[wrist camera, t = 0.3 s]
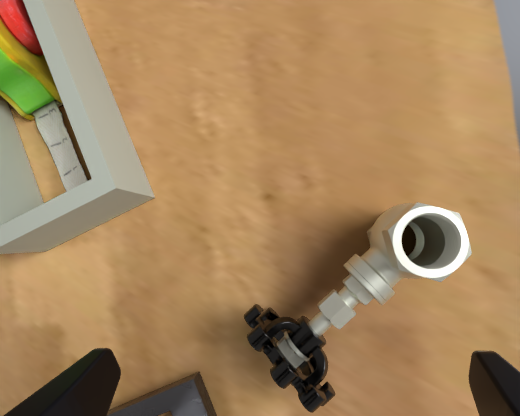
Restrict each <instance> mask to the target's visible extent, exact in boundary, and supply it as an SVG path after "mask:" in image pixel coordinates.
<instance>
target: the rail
mask: <svg viewBox="0 0 520 416" xmlns="http://www.w3.org/2000/svg"><path fill="white" fill-rule="evenodd" d="M168 411H171V413H172V416H217V415H216V412H215V410H214V407H213V405H212V402H211V400H210V397H209V395H208V392H207V390H206V387H205V385H204V382H203V380H202V377H201V375H200V372H197V373H195V374H193V375H190V376H188V377H186V378H183V379H181V380H179V381H176V382H174V383H172V384H169V385H167V386H165V387H162V388H160V389H158V390H155V391H153V392H150V393H148V394H146V395H143V396H141V397H139V398H136V399H134V400H132V401H129V402H127V403H125V404H122V405H120V406H118V407H115V408H113V409H111V410H109V411H108V414H107V416H158V415H160V414H163V413H165V412H168Z"/></svg>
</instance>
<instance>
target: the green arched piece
mask: <svg viewBox="0 0 520 416" xmlns="http://www.w3.org/2000/svg"><path fill="white" fill-rule="evenodd" d="M0 95H1V96H2V97H3V98H4V99H5V100H6V101H7V102H8V103H9V104H10V105H11V106H12V107H13V108H14V109H15V110H16V111H17V112H18V113H19V114H20V115H21V116H22V117H24V118H25V119H28V120H34V119H35V120H36V124H37V127H38V129H39V132H40V133H41V135H42V138H43V139H44V141H45V143H46V145H47V146H48V148H49V150H50V153H51V154H52V157H53V160H54V163H55V165H56V166H57V169H58V171H59V174H60V177H61V180H62V183H63V185H64V187H65V189H66V191H69V190H71V189H73V188H75V187H77V186H79V185H81V184H83V183H85V182H87V181H88V180H87V177H86V176H85V173H84V170H83V168H82V165H81V164H80V162H79V159H78V157H77V154H76V152H75V149H74V147H73V144H72V141H71V138H70V136H69V134H68V132H67V129H66V127H65V125H64V123H63V118H62V113H61V112H60V110H59V108H58V107H59V106H61V105H63V103H62V100H61V97H60V95H59V92H58V90H57V87H56V85H55V82H54V79H53V77H52V74H51V72H50V69H49V66H48V64H47V61H46V59H45V56H44V53H43V51H42V48H41V46H40V43H39V40H38V38H37V35H36V33H35V30H34V27H33V25H32V22H31V20H30V17H29V14H28V12H27V9H26V7H25V4H24V2H23V0H0Z"/></svg>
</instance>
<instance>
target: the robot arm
mask: <svg viewBox="0 0 520 416" xmlns="http://www.w3.org/2000/svg"><path fill="white" fill-rule="evenodd" d="M120 375H121V370H120V367H119V365H118V362H117V360H116V358H115V356H114V354H113V352H112V350H110V349H109V348H97V349H94V350H92V351H91V352H89V353H88V354H87V355H85V356H84V357H83V358H81V359H80V360H79V361H77V362H76V363H74V364H73V365H72V366H70V367H69V368H68V369H66V370H65V371H64V372H62V373H61V374H59V375H58V376H57V377H55V378H54V379H53V380H51V381H50V382H49V383H47V384H46V385H45V386H43V387H42V388H40V389H39V390H38V391H36V392H35V393H34V394H32V395H31V396H30V397H28V398H27V399H25V400H24V401H23V402H21V403H20V404H19V405H17V406H16V407H15V408H13V409H12V410H11V411H9V412H8V413H6V414H5V415H4V416H107V414H108V411H109V408H110V405H111V402H112V399H113V397H114V394H115V391H116V388H117V385H118V382H119V379H120ZM469 384H470V388H471V391H472V394H473V397H474V400H475V404H476V407H477V410H478V413H479V416H520V372H519V371H518V370H517V369H516V368H514V367H513V366H512V365H511V364H510V363H508V362H507V361H506V360H505V359H504V358H502V357H501V356H500V355H499V354H497V353H496V352H494V351H474V352H473V353H472V356H471V363H470V370H469Z"/></svg>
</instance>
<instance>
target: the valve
mask: <svg viewBox="0 0 520 416" xmlns="http://www.w3.org/2000/svg"><path fill="white" fill-rule="evenodd" d="M407 225H409V226H410V227H411V228H412V229H413V231H414V233H415V235H416V246H415V248H414V250H413V252H412V253H411V254H410V255H408V256H406V254H405V253H404V251H403V248H402V234H403V231H404V229H405V227H406V226H407ZM367 235H368V239H369V243H370V248H369V250H368V251H367V252H365V253H364V254H363V255H362V256H361V257H359V256H358V255H357V254H355V255H354V256H352V257H351V258H350V259H349V260H348V261H347V262H346V263H345V264H344V265H343V266H344V267H345V268H346V269H347V270H348V271H349V273H350V274H349V275H348V276H347V277H346V278H345V279H344V280H343V283H344V287H343V288H342V289H341V290H340V291H339V292H337V291H336V290H335V289H333V290H332V291H331V292H330V293H329V294H328V295H327V296H325V297H324V298H323V299H322V300H321V301H320V302H319V303H318V308H319V309H320V312H319V313H318V314H317V315H316V316H315V317H313V318H312V319H311V320H309V319H308V318H307V317H305V316H301V317H300V318H299V319H298V320H297V321H296V320H294V319H292V318H290V317H279V316H278V314H277V313H276V312H275V311H274V310H273V309H272V308H268V309H267V310H266V311H265V312H263V313H262V314H261V312H262V311H263V309H262V308H261V307H260V306H259V305H258V304H255V305H254V306H253V307H252V308H251V309H250V310H249V311H247V312H246V313H245V314H244V319H245V321H246V322H247V323H248V325H249V326H250V327H251V328H253V330H251V331H250V332H249V333H248V334H247V339H248V341H249V343H250V345H251V346H252V347H253V348H254V349H255V350H256V351H258V352H261V351H263V352H264V353H265V354H266V355H267V356H268V358H269V359H270V361H271V362H272V364H273V367H272V368H271V369H270V373H271V376H272V378H273V380H274V381H275V382H276V384H277V385H278V386H280V387H281V388H283V389H285V388H286V387H287V386H289V385H290V384H291V385H293V386H294V387H295V388H296V390H297V391H298V397H299V399H300V401H301V403H302V405H303V406H304V407H305V408H306V409H307V410H308V411H309V412H314V411H315V410H316V409H317V408H319V407H320V406H324V405H325V404H326V403H327V402H328V401H329V400H331V399H332V398H333V397H334V396H335V392H334V390H333V388H332V386H331V385H330V384H329V383H328V382H326V383H325V384H324V385H323V386H321V385H320V384H319V383H320V382H321V381H322V380H323V379H324V378H325V376H326V374H327V370H328V361H327V357H326V355H325V353H324V351H323V350H322V349H321V348H322V347H323V346H324V345H326V340H325V338H324V336H323V335H322V334H323V333H324V332H326V331H327V330H328V329H329V328H330V327H331V326H332V325H334V326H335V327H336V328H338V329H341V328H342V327H343V326H344V325H345V324H346V323H347V322H348V321H349V320H350V319H352V318H353V317H354V316H355V315H356V312H355V311H354V309H353V308H354V307H355V306H356V305H357V304H358V303H363V304H364V305H367V304H368V303H369V302H370V301H371V300H372V299H373V298H375V299H376V300H377V301H378V302H379V303H380V304H381V305H383V304H384V303H385V302H386V301H388V300H389V299H390V298H391V297H392V296H393V295H394V294H395V292H394V291H393V289H392V287H393V286H394V285H395V284H396V283H397V282H399V281H400V280H401V279H403V278H407V279H419V278H428V279H432V280H435V281H439V282H441V281H443V280H444V279H445V278H447V277H448V276H449V275H450V274H451V273H453V272H454V271H455V270H456V269H457V268H458V267H459V266H460V265H461V264H462V263H463V262H465V260H466V259H467V258H468V257H469V256H470V255H471V254H472V253H471V247H470V243H469V239H468V235H467V232H466V229H465V226H464V223H463V221H462V218H461V216H460V214H459V213H456V212H453V211H450V210H446V209H442V208H439V207H435V206H431V205H427V204H422V203H418V202H417V203H405V204H400V205H396V206H394V207H391V208H389V209H388V210H386V211H385V212H384V213H382V214H381V215H380V216H379V217H378V218H377V220H376V221H375V223H374V225H373V226H372V227H371V228H370V229H369V230H368V231H367ZM259 315H260V316H259ZM284 329H287V330H286V331H285V330H284ZM273 337H275V338H276V339H277V340H278V342H277V344H276V343H275V341H274V339H273ZM298 366H299V368H300V369H301V371H302V373H300V372H299V371H298V370H297V369H296V368H297V367H298Z"/></svg>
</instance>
